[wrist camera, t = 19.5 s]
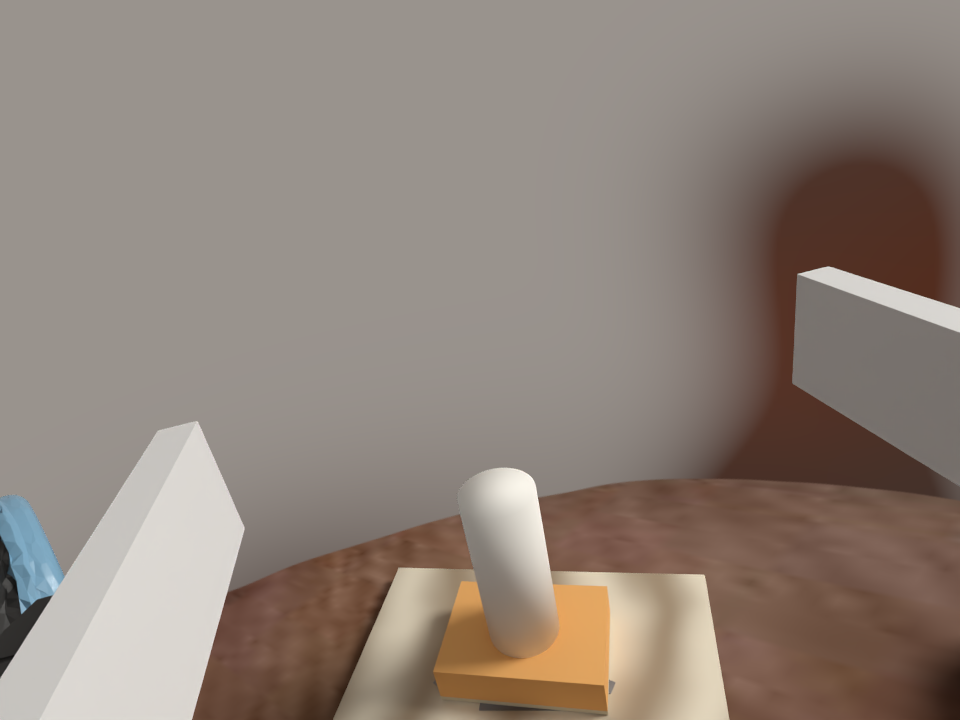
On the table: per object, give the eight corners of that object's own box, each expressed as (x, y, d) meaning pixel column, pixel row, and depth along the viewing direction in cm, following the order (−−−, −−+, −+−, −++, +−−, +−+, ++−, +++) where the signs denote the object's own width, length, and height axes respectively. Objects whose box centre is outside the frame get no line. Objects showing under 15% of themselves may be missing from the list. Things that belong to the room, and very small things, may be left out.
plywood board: (327, 757, 35) (321, 744, 35) (402, 579, 47) (398, 567, 47) (741, 806, 29) (741, 792, 29) (705, 587, 41) (704, 574, 41)
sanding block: (441, 699, 36) (390, 535, 31) (467, 607, 42) (429, 456, 37) (608, 714, 33) (584, 537, 28) (610, 613, 39) (590, 452, 34)
